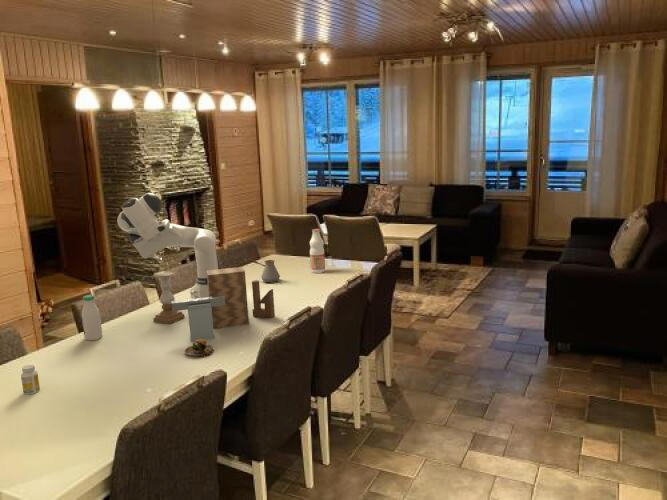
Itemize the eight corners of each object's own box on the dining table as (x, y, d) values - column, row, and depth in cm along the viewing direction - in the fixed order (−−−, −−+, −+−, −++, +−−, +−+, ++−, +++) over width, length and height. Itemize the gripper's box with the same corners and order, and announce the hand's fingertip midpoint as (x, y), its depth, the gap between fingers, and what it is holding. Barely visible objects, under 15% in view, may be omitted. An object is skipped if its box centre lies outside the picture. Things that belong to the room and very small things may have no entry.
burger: (182, 351, 240) (181, 334, 238) (210, 346, 244) (209, 329, 242) (187, 361, 229) (185, 343, 227) (216, 355, 233) (215, 338, 232)
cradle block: (191, 341, 250) (187, 306, 247) (190, 335, 258) (187, 301, 255) (214, 338, 253) (211, 303, 250) (212, 332, 261) (209, 299, 257)
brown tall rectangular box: (212, 328, 265) (208, 275, 260) (211, 322, 275) (206, 270, 270) (249, 324, 270) (244, 271, 265) (246, 318, 279) (242, 266, 274)
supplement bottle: (27, 396, 202) (23, 371, 200) (21, 392, 205) (17, 367, 203) (42, 390, 206) (38, 366, 204) (36, 387, 209) (32, 362, 207)
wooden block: (271, 318, 277) (269, 282, 274) (252, 316, 282) (250, 281, 278) (275, 316, 281) (272, 281, 277) (256, 314, 285) (253, 279, 281)
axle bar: (172, 311, 248) (171, 303, 247) (172, 309, 251) (171, 301, 250) (225, 305, 254) (224, 297, 253) (224, 302, 257) (223, 295, 257)
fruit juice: (307, 272, 369) (305, 229, 363) (318, 269, 375) (316, 227, 370) (317, 274, 362) (315, 231, 357) (328, 271, 369) (326, 229, 363)
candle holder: (185, 317, 285) (180, 271, 280) (170, 324, 275) (165, 276, 270) (168, 315, 289) (163, 270, 285) (153, 322, 280) (147, 275, 275)
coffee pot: (282, 278, 354) (280, 255, 351) (277, 283, 343) (276, 259, 340) (249, 279, 357) (247, 255, 354) (243, 283, 346) (242, 259, 343)
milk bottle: (106, 335, 263) (101, 294, 259) (94, 341, 255) (88, 298, 252) (93, 334, 265) (87, 293, 261) (80, 340, 258) (75, 298, 254)
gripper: (129, 245, 248) (149, 269, 253) (168, 223, 245) (187, 248, 251) (133, 239, 254) (151, 263, 259) (171, 217, 251) (189, 242, 256)
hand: (169, 255), depth 255 cm, fingers open, 8 cm apart
